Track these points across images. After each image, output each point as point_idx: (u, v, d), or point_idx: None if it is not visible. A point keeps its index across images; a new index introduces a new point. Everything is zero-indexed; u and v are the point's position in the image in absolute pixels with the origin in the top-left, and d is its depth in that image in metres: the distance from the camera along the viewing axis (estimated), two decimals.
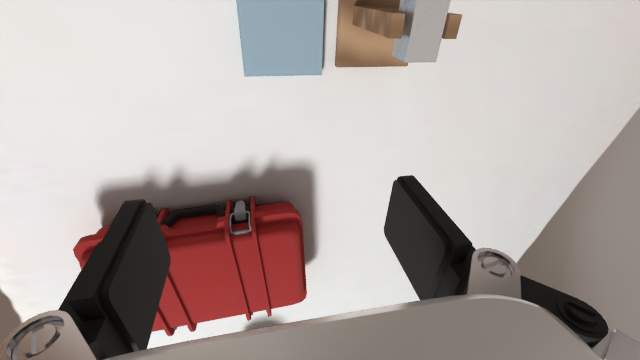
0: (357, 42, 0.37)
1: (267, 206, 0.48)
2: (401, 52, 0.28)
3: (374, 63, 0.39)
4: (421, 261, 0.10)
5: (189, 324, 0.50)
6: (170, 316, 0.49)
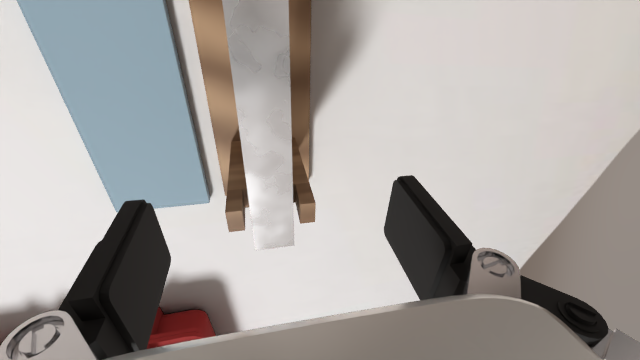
0: None
1: (173, 317, 0.45)
2: None
3: None
4: (421, 261, 0.10)
5: None
6: None
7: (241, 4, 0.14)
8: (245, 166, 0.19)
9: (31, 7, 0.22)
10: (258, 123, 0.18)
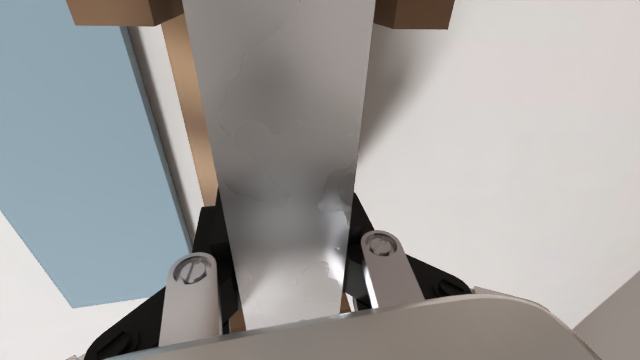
0: None
1: None
2: None
3: None
4: None
5: None
6: None
7: (246, 72, 0.05)
8: None
9: None
10: (280, 286, 0.09)
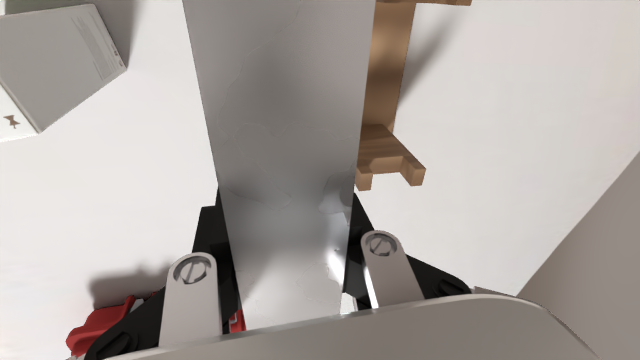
0: None
1: None
2: None
3: None
4: None
5: None
6: None
7: (247, 75, 0.05)
8: None
9: None
10: (280, 287, 0.09)
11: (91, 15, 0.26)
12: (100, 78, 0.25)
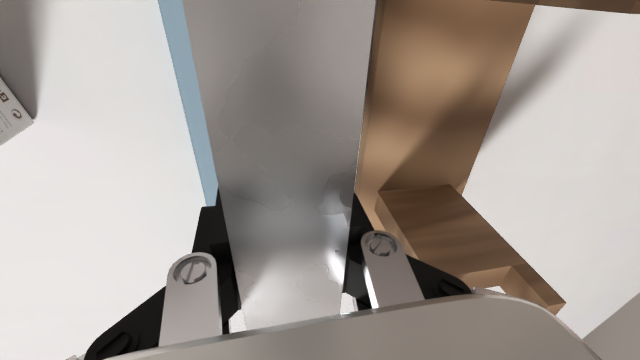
0: (380, 225, 0.27)
1: None
2: None
3: None
4: None
5: None
6: None
7: (247, 77, 0.05)
8: None
9: (179, 30, 0.15)
10: (280, 288, 0.09)
11: None
12: None
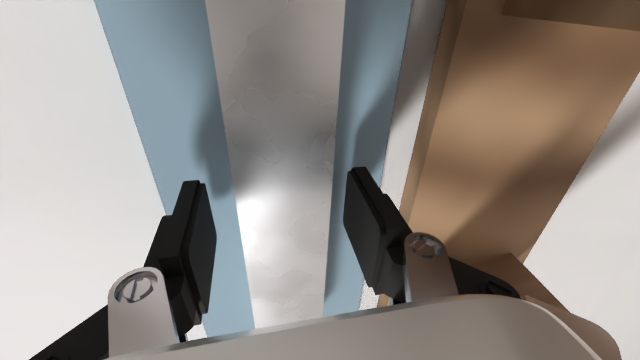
0: None
1: None
2: None
3: None
4: (366, 247, 0.10)
5: None
6: None
7: (250, 50, 0.07)
8: (251, 291, 0.12)
9: (143, 75, 0.10)
10: (275, 235, 0.11)
11: None
12: None
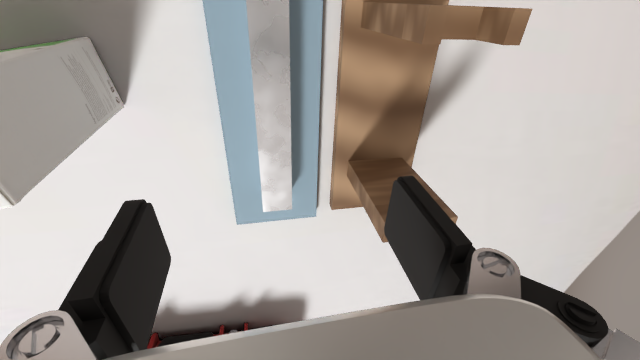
0: (352, 188, 0.37)
1: None
2: None
3: None
4: (421, 261, 0.10)
5: None
6: None
7: (260, 38, 0.23)
8: (258, 145, 0.28)
9: (218, 49, 0.26)
10: (268, 114, 0.26)
11: (84, 50, 0.23)
12: (94, 121, 0.22)
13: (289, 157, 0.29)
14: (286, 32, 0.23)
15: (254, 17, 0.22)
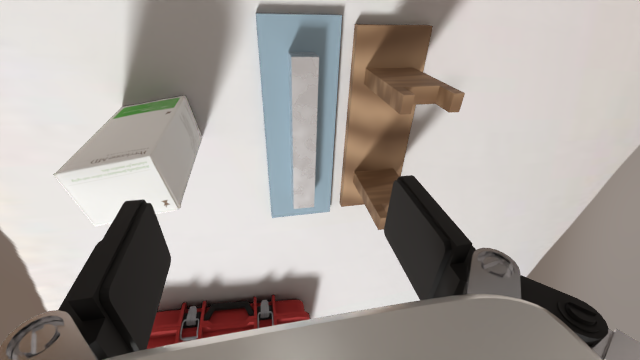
0: (356, 191, 0.50)
1: (283, 303, 0.62)
2: (292, 201, 0.46)
3: None
4: (421, 261, 0.10)
5: None
6: None
7: (299, 97, 0.36)
8: (293, 163, 0.41)
9: (268, 101, 0.38)
10: (301, 143, 0.39)
11: (185, 106, 0.36)
12: (194, 153, 0.35)
13: (314, 171, 0.42)
14: (315, 93, 0.36)
15: (296, 86, 0.35)
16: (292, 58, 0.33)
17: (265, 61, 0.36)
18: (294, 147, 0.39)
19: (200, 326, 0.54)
